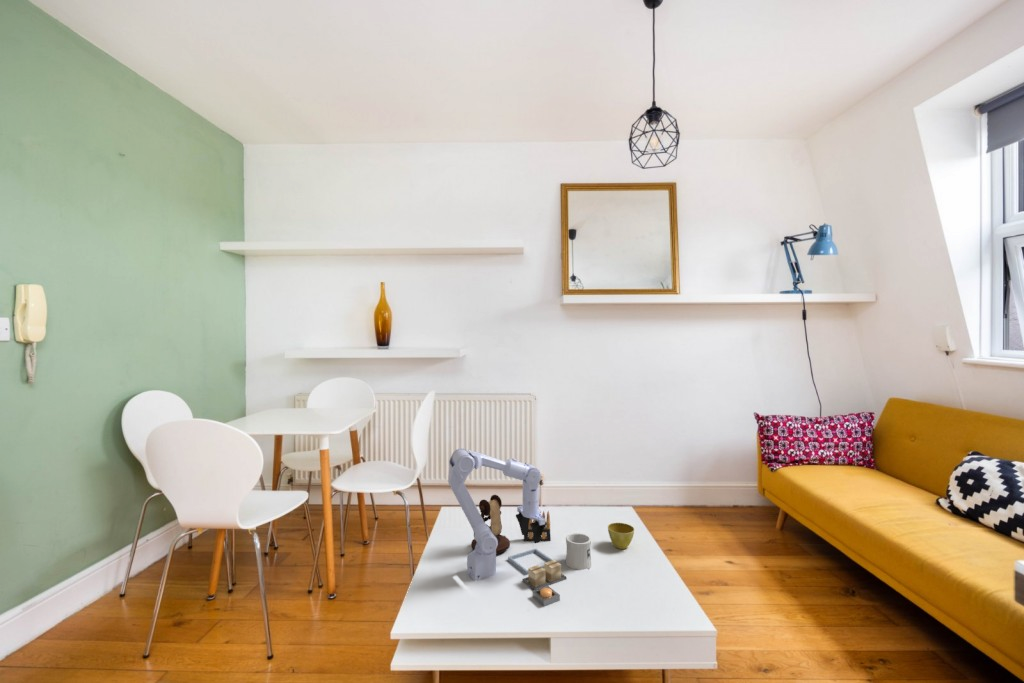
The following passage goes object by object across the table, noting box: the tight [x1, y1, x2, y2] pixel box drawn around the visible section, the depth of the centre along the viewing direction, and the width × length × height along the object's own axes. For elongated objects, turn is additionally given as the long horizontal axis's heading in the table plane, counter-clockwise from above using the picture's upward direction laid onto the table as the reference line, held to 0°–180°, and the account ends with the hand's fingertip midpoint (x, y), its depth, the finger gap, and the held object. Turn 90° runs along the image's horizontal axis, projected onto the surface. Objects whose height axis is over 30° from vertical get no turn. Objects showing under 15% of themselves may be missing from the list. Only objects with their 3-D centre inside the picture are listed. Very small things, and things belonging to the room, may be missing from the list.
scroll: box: [470, 494, 511, 555], centre depth 177 cm, size 15×15×20 cm
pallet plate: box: [522, 572, 567, 591], centre depth 153 cm, size 14×9×2 cm, turn 122°
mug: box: [565, 532, 592, 571], centre depth 166 cm, size 12×9×10 cm
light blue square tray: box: [507, 548, 553, 576], centre depth 165 cm, size 12×12×2 cm
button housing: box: [531, 585, 561, 608], centre depth 142 cm, size 6×6×3 cm
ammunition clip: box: [523, 510, 552, 542], centre depth 184 cm, size 11×2×12 cm, turn 90°
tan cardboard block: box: [543, 559, 562, 581], centre depth 154 cm, size 4×4×5 cm
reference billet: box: [527, 564, 546, 587], centre depth 151 cm, size 4×4×5 cm
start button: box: [540, 588, 552, 599], centre depth 142 cm, size 4×4×3 cm
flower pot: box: [607, 522, 635, 550], centre depth 180 cm, size 10×10×7 cm
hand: (530, 538), depth 163 cm, fingers open, 7 cm apart
